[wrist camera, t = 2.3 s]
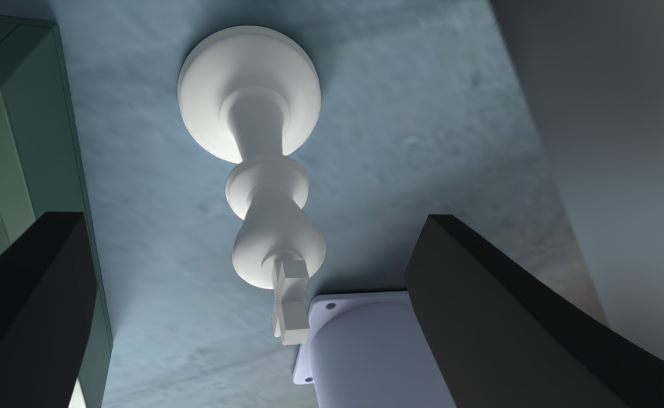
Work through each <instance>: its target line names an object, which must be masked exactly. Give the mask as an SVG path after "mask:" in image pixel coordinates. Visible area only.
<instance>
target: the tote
mask: <svg viewBox="0 0 664 408" xmlns="http://www.w3.org/2000/svg"><path fill="white" fill-rule="evenodd" d="M46 211H57V212H84V215H85V221H86V226H87V231H88V237H89V242H90V247H91V253H92V258H93V263H94V268H95V274H96V279H97V284H98V289H97V296H96V302H95V309H94V315H93V321H92V326H91V332H90V337H89V340H88V344H87V347H86V351H85V354H84V357H83V361H82V364H81V368H80V371H79V374H78V378H77V381H76V384H75V388H74V391H73V394H72V398H71V401H70V404H69V408H101V405H102V400H103V395H104V390H105V384H106V379H107V374H108V369H109V363H110V358H111V353H112V348H113V341H112V335H111V329H110V324H109V318H108V312H107V306H106V300H105V294H104V289H103V283H102V277H101V271H100V265H99V260H98V254H97V248H96V242H95V236H94V231H93V225H92V219H91V213H90V207H89V202H88V196H87V190H86V184H85V178H84V172H83V167H82V161H81V155H80V149H79V143H78V138H77V132H76V126H75V120H74V114H73V109H72V103H71V97H70V91H69V85H68V79H67V74H66V68H65V62H64V56H63V50H62V45H61V39H60V33H59V27H58V24H57V23H56V22H50V21H41V20H33V19H25V18H17V17H9V16H1V15H0V255H1V254H2V253H3V252H4V251H5V250H6V249H7V248H8V247H9V246H10V245H11V244H12V243H13V242H14V241H15V240H17V239H18V238H19V237H20V236H21V235H22V234H23V233H24V232H25V231H26V230H27V229H28V228H29V227H30V226H31V225H32V224H33V223H34V222H35V221H36V220H37V219H38V218H39V217H40V216H41V215H43V214H44V213H45V212H46Z"/></svg>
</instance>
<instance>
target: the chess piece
mask: <svg viewBox="0 0 664 408" xmlns="http://www.w3.org/2000/svg"><path fill="white" fill-rule="evenodd" d="M177 95H178V103H179V107H180V111H181V115H182V118H183V121H184V123H185V126H186V127H187V129H188V131H189V133H190V134H191V135H192V137H193V138H194V139H195V140H196V141H197V142H198V143H199V144H200V145H201V146H202V147H203V148H204V149H205V150H207V151H208V152H210V153H211V154H213V155H215V156H217V157H219V158H221V159H223V160H226V161H229V162H233V163H238V165H237V166H236V167H235V168H234V169H233V170H232V172H231V173H230V175H229V177H228V179H227V182H226V186H225V194H226V198H227V201H228V203H229V205H230V206H231V208H232V210H233V211H234V212H235V213H236V214H237V215H238V216H239V217H240V218H241V219H243V220H244V223H243V226H242V227H241V229H240V231H239V233H238V235H237V238H236V240H235V243H234V247H233V252H232V261H233V265H234V268H235V270H236V272H237V273H238V275H239V276H240V277H241V278H242V279H243V280H245V281H246V282H248V283H250V284H252V285H254V286H257V287H260V288H265V289H274V295H275V303H274V309H273V314H272V325H273V332H274V337H281V340H282V345H293V344H306V342H307V338H308V334H309V331H310V326H309V322H308V317H307V313H306V308H305V303H304V298H305V294H306V290H307V285H308V281H309V278H310V277H311V276H312V275H313V274H315V273H316V272H317V270H318V269H319V268H320V267H321V265H322V263H323V261H324V259H325V256H326V241H325V238H324V236H323V234H322V232H321V231H320V229H319V228H318V227H317V225H316V224H315V223H314V222H313V221H312V220H311V219H310V218H309V217H308V216H307V215H305V214H304V213H303V212H302V210H301V209H302V208H303V207H304V205H305V203H306V201H307V198H308V193H309V187H310V184H309V178H308V175H307V173H306V171H305V169H304V168H303V167H302V166H301V165H300V164H299V163H298V162H297V161H295V160H294V159H292V158H290V157H288V156H287V155H289V154H290V153H292V152H293V151H295V150H296V149H297V148H299V147H300V146H301V145H302V144H303V143H304V142H305V141H306V140H307V138H308V137H309V136H310V134H311V133H312V131H313V129H314V127H315V125H316V123H317V120H318V117H319V114H320V108H321V91H320V84H319V79H318V75H317V72H316V69H315V67H314V65H313V63H312V61H311V60H310V58H309V56H308V55H307V54H306V52H305V51H304V50H303V49H302V48H301V47H300V46H299V45H298V44H297V43H296V42H294V41H293V40H292V39H290V38H289V37H287V36H285V35H284V34H282V33H280V32H277V31H275V30H272V29H269V28H265V27H260V26H235V27H230V28H227V29H223V30H221V31H218V32H216V33H214V34H212V35H210V36H208V37H207V38H205V39H204V40H203V41H201V42H200V43H199V44H198V45H197V46H196V47H195V48H194V49H193V50H192V51H191V53H190V54H189V55H188V57H187V58H186V60H185V62H184V64H183V66H182V69H181V71H180V75H179V79H178V87H177Z"/></svg>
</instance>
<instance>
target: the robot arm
mask: <svg viewBox="0 0 664 408" xmlns="http://www.w3.org/2000/svg"><path fill="white" fill-rule="evenodd" d="M404 279H405V283H406V286H407V290H408V291H396V292H374V293H353V294H331V295H318V296H316V297H315V298H313V299H312V301H311V304H310V308H309V312H308V316H307V317H308V322H309V326H310V331H309V334H308V338H307V342H306V344H300V348H299V352H298V356H297V360H296V364H295V368H294V372H293V382H294V383H295V384H309V383H314V385H315V389H316V394H317V399H318V404H319V408H664V361H663V360H661V359H659V358H658V357H656V356H654V355H652V354H650V353H649V352H647V351H645V350H644V349H642V348H640V347H638V346H637V345H635V344H633V343H632V342H630V341H628V340H627V339H625V338H624V337H622V336H620V335H619V334H617V333H616V332H614V331H612V330H611V329H609V328H607V327H606V326H604V325H603V324H601V323H599V322H598V321H596V320H595V319H593V318H592V317H590V316H589V315H587V314H586V313H584V312H583V311H581V310H580V309H578V308H577V307H575V306H574V305H573V304H571V303H570V302H568V301H567V300H565V299H564V298H563V297H561V296H560V295H558V294H557V293H556V292H554V291H553V290H551V289H550V288H549V287H547V286H546V285H545V284H543V283H542V282H540V281H539V280H538V279H536V278H535V277H534V276H532V275H531V274H530V273H528V272H527V271H526V270H525V269H523V268H522V267H521V266H519V265H518V264H517V263H515V262H514V261H513V260H511V259H510V258H509V257H508V256H506V255H505V254H504V253H502V252H501V251H500V250H499V249H497V248H496V247H495V246H493V245H492V244H491V243H490V242H488V241H487V240H486V239H484V238H483V237H482V236H481V235H479V234H478V233H477V232H475V231H474V230H473V229H471V228H470V227H469V226H467V225H466V224H465V223H463V222H462V221H460V220H459V219H457V218H456V217H454V216H453V215H434V214H429V215H428V217H427V220H426V222H425V224H424V227H423V229H422V232H421V234H420V236H419V239H418V241H417V244H416V246H415V248H414V251H413V253H412V256H411V258H410V260H409V263H408V265H407V268H406V270H405V273H404ZM97 289H98V284H97V279H96V274H95V268H94V263H93V258H92V253H91V247H90V242H89V237H88V231H87V226H86V221H85V215H84V212H57V211H46V212H45V213H44V214H43V215H41V216H40V217H39V218H38V219H37V220H36V221H35V222H34V223H33V224H32V225H31V226H30V227H29V228H28V229H27V230H26V231H25V232H24V233H23V234H22V235H21V236H20V237H19V238H18V239H17V240H15V241H14V242H13V243H12V244H11V245H10V246H9V247H8V248H7V249H6V250H5V251H4V252H3V253H2V254H1V255H0V408H69V404H70V401H71V398H72V394H73V391H74V388H75V384H76V381H77V378H78V374H79V371H80V368H81V364H82V361H83V357H84V354H85V351H86V347H87V344H88V340H89V337H90V332H91V326H92V321H93V315H94V309H95V302H96V296H97Z"/></svg>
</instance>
